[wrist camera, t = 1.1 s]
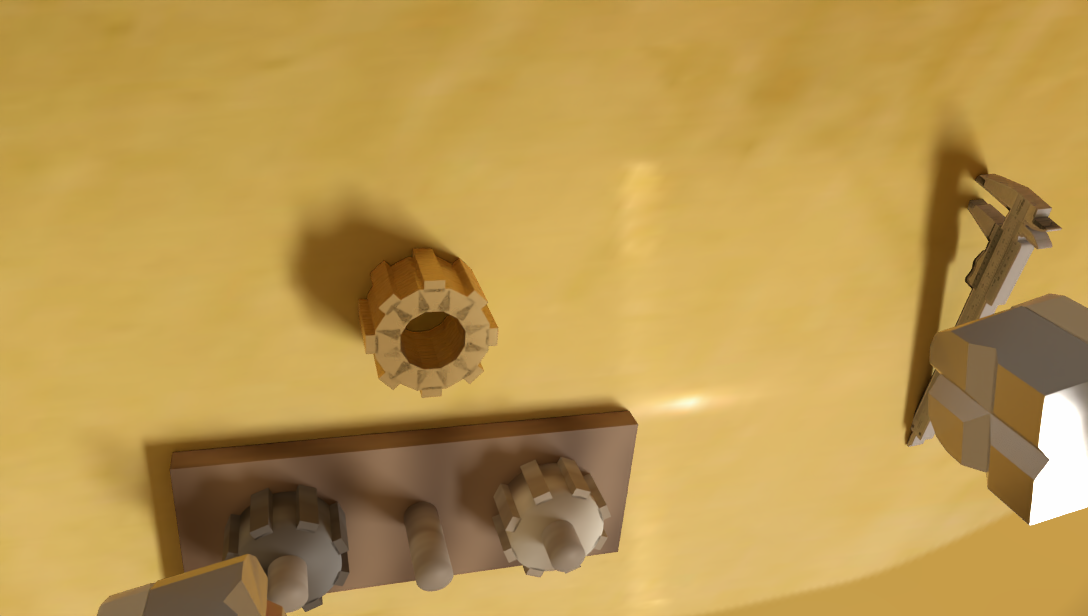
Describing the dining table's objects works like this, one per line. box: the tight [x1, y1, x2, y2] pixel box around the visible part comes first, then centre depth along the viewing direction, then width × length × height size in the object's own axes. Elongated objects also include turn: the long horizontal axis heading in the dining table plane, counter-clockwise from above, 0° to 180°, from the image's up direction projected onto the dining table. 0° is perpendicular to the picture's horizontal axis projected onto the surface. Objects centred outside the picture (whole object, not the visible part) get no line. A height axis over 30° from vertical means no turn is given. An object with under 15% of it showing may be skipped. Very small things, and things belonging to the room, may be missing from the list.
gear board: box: [170, 411, 638, 613], centre depth 47 cm, size 26×10×8 cm, turn 85°
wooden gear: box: [358, 248, 498, 398], centre depth 43 cm, size 6×6×4 cm
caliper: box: [907, 174, 1062, 447], centre depth 53 cm, size 20×1×6 cm, turn 179°
